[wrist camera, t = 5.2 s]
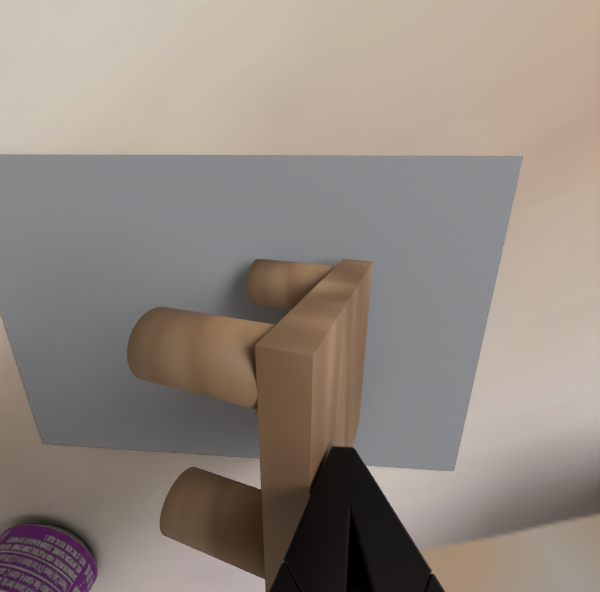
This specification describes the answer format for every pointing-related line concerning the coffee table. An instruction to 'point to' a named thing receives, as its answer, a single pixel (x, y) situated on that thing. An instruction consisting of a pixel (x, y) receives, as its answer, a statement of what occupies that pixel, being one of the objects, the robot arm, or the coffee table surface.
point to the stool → (263, 400)
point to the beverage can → (44, 560)
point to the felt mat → (233, 285)
